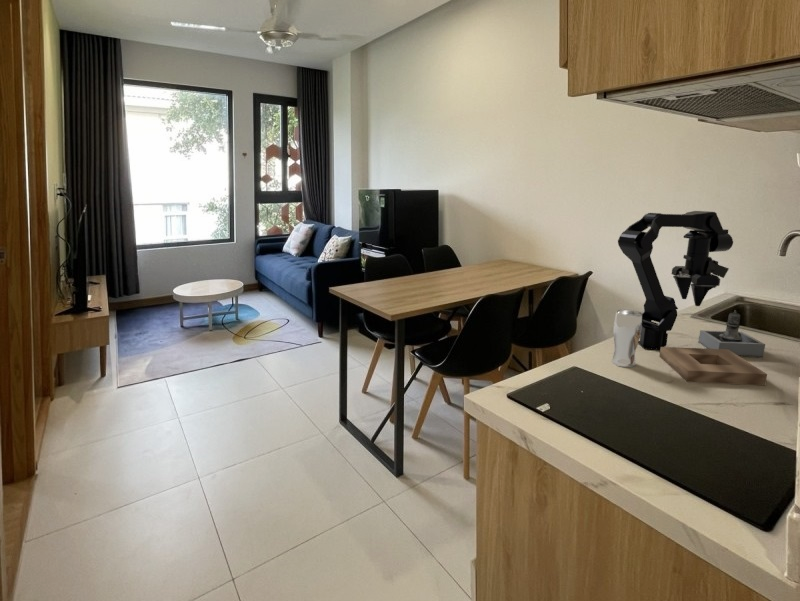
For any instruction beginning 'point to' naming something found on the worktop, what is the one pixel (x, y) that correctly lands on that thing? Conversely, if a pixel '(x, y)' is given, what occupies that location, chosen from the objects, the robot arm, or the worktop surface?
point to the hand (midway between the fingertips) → (690, 302)
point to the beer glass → (626, 336)
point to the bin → (732, 344)
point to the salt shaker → (732, 329)
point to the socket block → (712, 366)
